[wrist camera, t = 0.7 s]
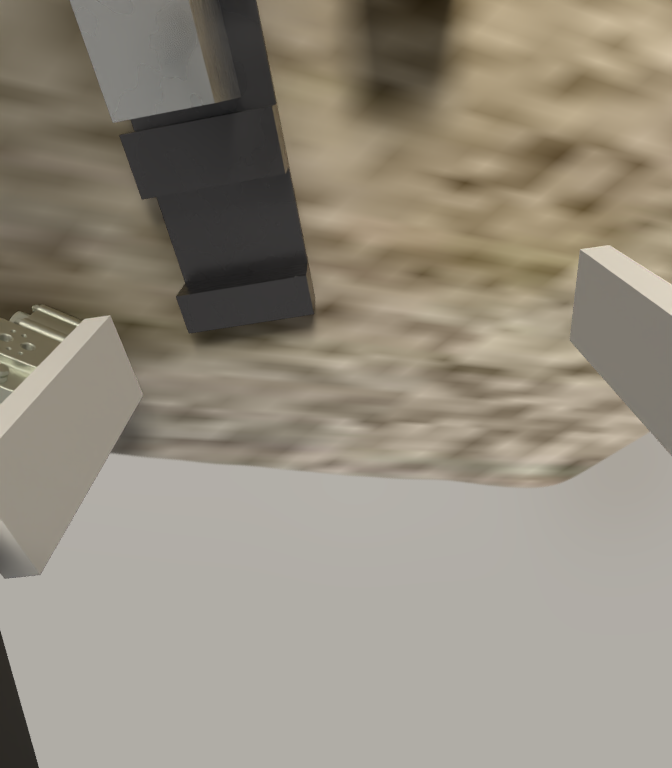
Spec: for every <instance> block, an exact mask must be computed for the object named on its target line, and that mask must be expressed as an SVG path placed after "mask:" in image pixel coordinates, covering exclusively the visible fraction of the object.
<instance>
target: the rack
mask: <svg viewBox="0 0 672 768" xmlns="http://www.w3.org/2000/svg"><path fill="white" fill-rule="evenodd" d="M219 2H220V7H221V11H222V15H223V20H224V24H225V29H226V33H227V37H228V42H229V46H230V50H231V55H232V59H233V64H234V68H235V72H236V77H237V81H238V85H239V90H240V94H241V97H239V98H235V99H231V100H226V101H222V102H218V103H213V104H208V105H202V106H197V107H192V108H187V109H182V110H176V111H171V112H166V113H161V114H156V115H150V116H145V117H140V118H135V119H131V122H132V125H133V128H134V131H132V132H129V133H125V134H122V135H119V136H120V139H121V141H122V144H123V147H124V150H125V153H126V156H127V158H128V161H129V164H130V167H131V170H132V173H133V176H134V178H135V181H136V184H137V187H138V190H139V193H140V196H141V198H142V199H148V198H153V197H157V200H158V203H159V206H160V209H161V212H162V215H163V218H164V221H165V224H166V227H167V230H168V233H169V236H170V239H171V242H172V245H173V248H174V251H175V254H176V257H177V259H178V262H179V265H180V268H181V271H182V274H183V277H184V280H185V285H184V286H183V287H182V289H181V290H180V292H179V293H178V294H177V296H176V298H177V301H178V304H179V307H180V310H181V313H182V315H183V318H184V321H185V324H186V327H187V330H188V332H189V333H195V332H202V331H208V330H214V329H221V328H227V327H234V326H240V325H247V324H253V323H259V322H266V321H272V320H279V319H285V318H292V317H298V316H304V315H311V314H314V307H315V294H314V289H313V284H312V279H311V274H310V269H309V264H308V259H307V254H306V249H305V244H304V239H303V234H302V229H301V224H300V218H299V213H298V208H297V203H296V198H295V193H294V188H293V183H292V178H291V173H290V168H289V163H288V158H287V153H286V148H285V143H284V137H283V132H282V127H281V122H280V117H279V112H278V107H277V102H276V97H275V92H274V87H273V82H272V77H271V72H270V67H269V62H268V56H267V51H266V46H265V41H264V36H263V31H262V26H261V21H260V16H259V11H258V6H257V1H256V0H219Z"/></svg>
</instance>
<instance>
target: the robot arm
mask: <svg viewBox="0 0 672 768" xmlns="http://www.w3.org/2000/svg"><path fill="white" fill-rule="evenodd" d="M570 341H571V342H572V344H573V345H574V346H575V347H576V348H577V349H578V350H579V351H580V353H581V354H582V355H583V356H584V357H585V358H586V359H587V361H588V362H589V363H590V364H591V365H592V366H593V367H594V368H595V370H596V371H597V372H598V373H599V374H600V375H601V376H602V378H603V379H604V380H605V381H606V382H607V383H608V384H609V385H610V387H611V388H612V389H613V390H614V391H615V392H616V393H617V395H618V396H619V397H620V398H621V399H622V400H623V401H624V402H625V404H626V405H627V406H628V407H629V408H630V409H631V410H632V412H633V413H634V414H635V415H636V416H637V417H638V418H639V419H640V421H641V422H642V423H643V424H644V425H645V426H646V427H647V429H648V430H649V431H650V432H651V433H652V434H653V435H654V436H655V438H656V439H658V441H659V442H660V443H661V444H662V445H663V447H664V448H665V449H666V450H667V451H668V452H669V453H670V455H671V456H672V284H670V283H669V282H667V281H665V280H664V279H662V278H661V277H659V276H657V275H656V274H654V273H653V272H651V271H650V270H648V269H646V268H645V267H643V266H642V265H640V264H638V263H637V262H635V261H634V260H632V259H630V258H629V257H627V256H626V255H624V254H623V253H621V252H619V251H618V250H616V249H615V248H613V247H611V246H610V245H607V246H600V247H593V248H586V249H580V255H579V263H578V272H577V281H576V289H575V298H574V307H573V315H572V324H571V333H570ZM142 397H143V393H142V391H141V388H140V386H139V383H138V381H137V378H136V376H135V374H134V371H133V369H132V366H131V364H130V362H129V359H128V357H127V354H126V352H125V350H124V347H123V345H122V342H121V340H120V338H119V335H118V333H117V330H116V328H115V326H114V323H113V321H112V318H111V316H110V315H109V316H102V317H95V318H87V319H84V320H83V321H82V322H81V323H80V324H79V325H78V326H77V327H76V328H75V329H74V330H73V331H72V332H71V333H70V334H69V335H68V336H67V337H66V338H65V339H64V340H63V341H62V342H61V343H60V344H59V345H58V346H57V347H56V349H55V350H54V351H53V352H52V353H51V354H50V355H49V356H48V357H47V358H46V359H45V360H44V361H43V362H42V363H41V364H40V365H39V366H38V367H37V368H36V369H35V370H34V371H33V372H32V373H31V374H30V375H29V376H28V377H27V378H26V379H25V380H24V381H23V382H22V383H21V384H20V385H19V386H18V387H17V388H16V389H15V390H14V391H13V392H12V393H11V394H10V395H9V396H8V397H7V398H6V399H5V400H4V401H3V402H2V403H1V404H0V573H1V575H2V576H3V577H4V578H16V577H25V576H35V575H41V573H42V571H43V569H44V568H45V566H46V564H47V562H48V560H49V559H50V557H51V555H52V554H53V552H54V550H55V548H56V547H57V545H58V543H59V541H60V540H61V538H62V536H63V535H64V533H65V531H66V529H67V528H68V526H69V524H70V522H71V521H72V519H73V517H74V515H75V513H76V512H77V510H78V508H79V506H80V505H81V503H82V501H83V499H84V498H85V496H86V494H87V493H88V491H89V489H90V487H91V485H92V484H93V482H94V480H95V479H96V477H97V475H98V473H99V472H100V470H101V468H102V466H103V465H104V463H105V461H106V459H107V458H108V456H109V454H110V453H111V451H112V449H113V447H114V446H115V444H116V442H117V440H118V439H119V437H120V435H121V433H122V432H123V430H124V428H125V426H126V425H127V423H128V421H129V419H130V418H131V416H132V414H133V412H134V411H135V409H136V407H137V405H138V404H139V402H140V400H141V398H142ZM0 768H39V767H38V763H37V759H36V756H35V752H34V749H33V745H32V742H31V738H30V734H29V731H28V727H27V724H26V720H25V717H24V713H23V710H22V706H21V703H20V699H19V696H18V692H17V689H16V685H15V681H14V678H13V674H12V671H11V667H10V664H9V660H8V656H7V653H6V649H5V646H4V643H3V639H2V635H1V632H0Z"/></svg>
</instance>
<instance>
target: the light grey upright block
mask: <svg viewBox="0 0 672 768" xmlns="http://www.w3.org/2000/svg"><path fill="white" fill-rule="evenodd" d="M70 3H71V6H72V8H73V11H74V14H75V17H76V20H77V23H78V25H79V28H80V31H81V34H82V37H83V40H84V42H85V45H86V48H87V51H88V54H89V57H90V59H91V62H92V65H93V68H94V71H95V74H96V76H97V79H98V82H99V85H100V88H101V91H102V94H103V96H104V99H105V102H106V105H107V108H108V111H109V113H110V116H111V119H112V122H113V123H114V122H119V121H124V120H130V119H135V118H140V117H145V116H150V115H156V114H161V113H166V112H171V111H176V110H182V109H187V108H192V107H197V106H202V105H208V104H213V103H218V102H222V101H226V100H231V99H235V98H239V97H241V94H240V90H239V85H238V81H237V77H236V72H235V68H234V64H233V59H232V55H231V50H230V46H229V42H228V37H227V33H226V29H225V24H224V20H223V15H222V11H221V7H220V2H219V0H70Z"/></svg>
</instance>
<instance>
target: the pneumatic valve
mask: <svg viewBox="0 0 672 768" xmlns="http://www.w3.org/2000/svg"><path fill="white" fill-rule="evenodd" d="M32 310H33V313H32V314H31V315H29V314H26V313H24V312H20V311H18V312H16V313H15V314H14V315H13V316H12V317H11V318H10V320H9V321H7V320H5V319H2V318H0V404H1V403H2V402H3V401H4V400H5V399H6V398H7V397H8V396H9V395H10V394H11V393H12V392H13V391H14V390H15V389H16V388H17V387H18V386H19V385H20V384H21V383H22V382H23V381H24V380H25V379H26V378H27V377H28V376H29V375H30V374H31V373H32V372H33V371H34V370H35V369H36V368H37V367H38V366H39V365H40V364H41V363H42V362H43V361H44V360H45V359H46V358H47V357H48V356H49V355H50V354H51V353H52V352H53V351H54V350H55V349H56V347H57V346H58V345H59V344H60V343H61V342H62V341H63V340H64V339H65V338H66V337H67V336H68V335H69V334H70V333H71V332H72V331H73V330H74V329H75V328H76V327H77V326H78V325H79V324H80V323H81V322H82V321H81V320H79V319H77V318H74V317H72V316H70V315H67V314H65V313H62V312H60V311H58V310H55V309H53V308H51V307H48V306H46V305H44V304H42V305H40V306H39V305H35V306H34V305H33V306H32Z"/></svg>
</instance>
